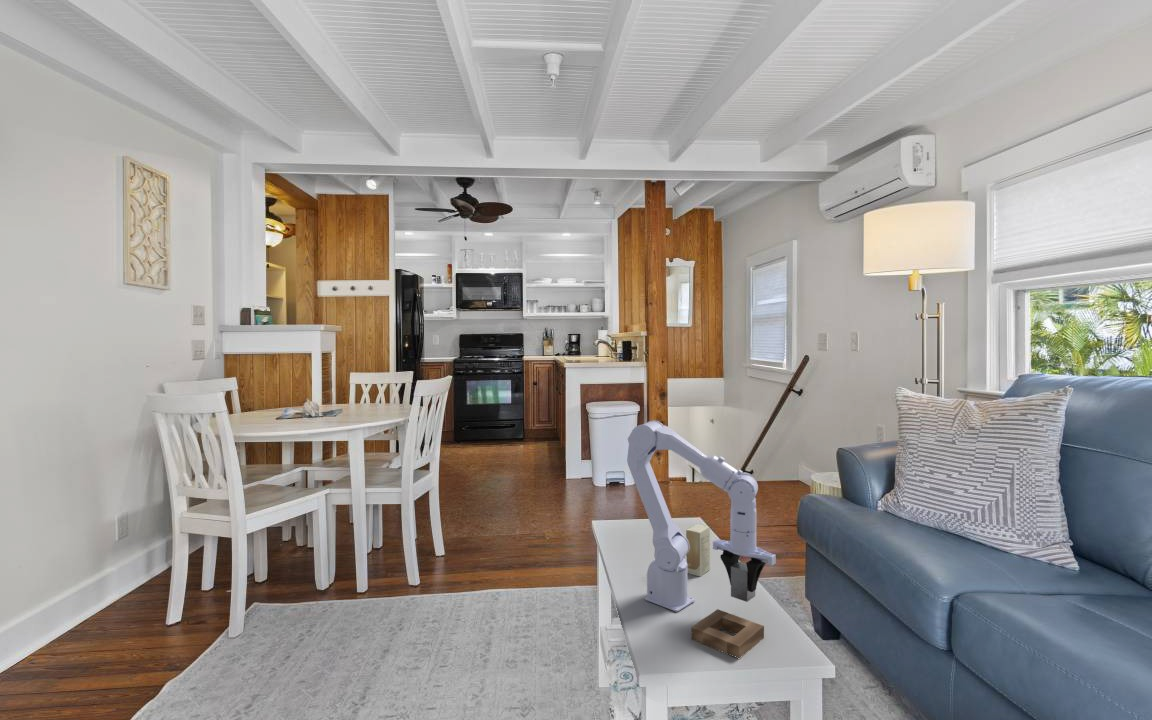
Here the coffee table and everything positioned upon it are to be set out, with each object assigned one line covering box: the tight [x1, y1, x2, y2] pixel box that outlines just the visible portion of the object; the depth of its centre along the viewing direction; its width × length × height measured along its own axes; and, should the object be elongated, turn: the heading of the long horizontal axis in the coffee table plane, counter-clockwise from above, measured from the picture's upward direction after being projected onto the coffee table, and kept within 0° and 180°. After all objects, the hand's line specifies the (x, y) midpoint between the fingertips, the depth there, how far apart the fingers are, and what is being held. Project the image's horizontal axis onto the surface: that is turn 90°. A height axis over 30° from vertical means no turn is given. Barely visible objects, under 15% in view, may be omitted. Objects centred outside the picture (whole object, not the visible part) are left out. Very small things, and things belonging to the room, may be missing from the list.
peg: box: [730, 560, 756, 603], centre depth 125 cm, size 4×4×7 cm
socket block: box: [690, 608, 765, 659], centre depth 116 cm, size 11×11×2 cm
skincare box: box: [685, 523, 711, 577], centre depth 151 cm, size 6×4×12 cm
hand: (743, 587), depth 125 cm, fingers closed on peg, 4 cm apart
